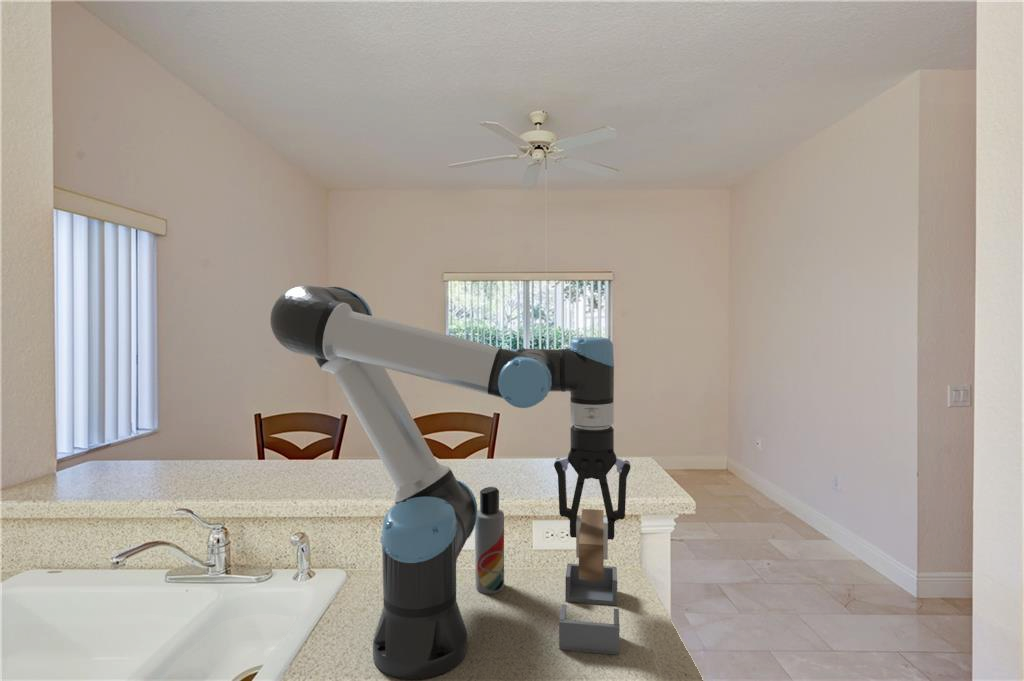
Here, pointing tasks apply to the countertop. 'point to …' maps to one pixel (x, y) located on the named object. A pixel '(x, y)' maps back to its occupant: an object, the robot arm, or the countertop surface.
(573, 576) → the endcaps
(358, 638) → the countertop surface
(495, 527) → the lotion bottle
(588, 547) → the slat
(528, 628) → the countertop surface
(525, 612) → the countertop surface
